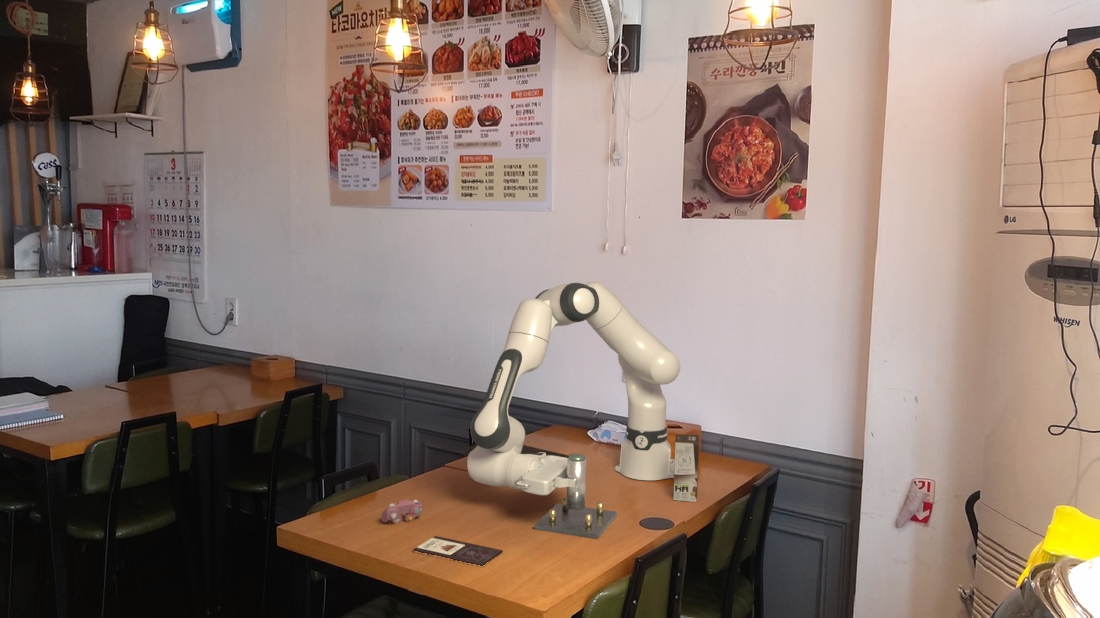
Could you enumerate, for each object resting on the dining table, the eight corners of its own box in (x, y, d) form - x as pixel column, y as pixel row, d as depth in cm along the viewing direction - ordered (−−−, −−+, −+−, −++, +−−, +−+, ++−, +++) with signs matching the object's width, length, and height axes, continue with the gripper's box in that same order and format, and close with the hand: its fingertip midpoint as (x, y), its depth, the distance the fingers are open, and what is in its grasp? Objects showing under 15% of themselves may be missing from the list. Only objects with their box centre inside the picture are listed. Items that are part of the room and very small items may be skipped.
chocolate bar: (482, 565, 174) (412, 549, 182) (482, 569, 174) (412, 553, 182) (502, 550, 182) (435, 535, 190) (502, 554, 182) (435, 539, 190)
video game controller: (384, 532, 198) (387, 511, 194) (379, 518, 201) (382, 498, 198) (422, 525, 202) (427, 505, 199) (417, 512, 206) (421, 492, 202)
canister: (570, 502, 203) (571, 452, 202) (587, 505, 202) (588, 454, 200) (563, 508, 199) (564, 457, 198) (581, 511, 197) (582, 459, 196)
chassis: (557, 507, 211) (557, 492, 211) (616, 516, 205) (617, 500, 205) (534, 529, 196) (534, 512, 196) (597, 539, 190) (597, 521, 190)
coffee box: (697, 502, 216) (699, 443, 214) (672, 500, 217) (674, 441, 216) (698, 491, 225) (699, 434, 223) (674, 489, 226) (676, 433, 224)
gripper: (511, 471, 194) (565, 479, 189) (542, 450, 213) (592, 456, 208) (510, 497, 195) (565, 505, 190) (542, 473, 214) (592, 480, 209)
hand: (579, 479), depth 199 cm, fingers closed on canister, 5 cm apart
